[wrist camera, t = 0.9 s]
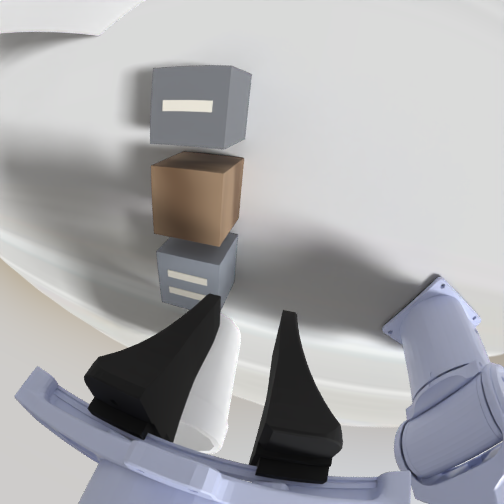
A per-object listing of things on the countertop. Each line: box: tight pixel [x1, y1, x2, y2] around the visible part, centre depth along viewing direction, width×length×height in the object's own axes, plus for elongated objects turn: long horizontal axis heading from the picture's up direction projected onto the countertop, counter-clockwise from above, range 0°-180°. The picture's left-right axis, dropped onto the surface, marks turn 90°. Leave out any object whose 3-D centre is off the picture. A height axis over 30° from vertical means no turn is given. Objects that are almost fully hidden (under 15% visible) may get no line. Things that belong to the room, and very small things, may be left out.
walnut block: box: [151, 152, 244, 247], centre depth 20 cm, size 5×5×5 cm
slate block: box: [156, 233, 238, 311], centre depth 23 cm, size 5×5×5 cm
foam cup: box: [173, 313, 241, 453], centre depth 25 cm, size 10×9×13 cm
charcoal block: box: [150, 65, 252, 149], centre depth 16 cm, size 5×5×5 cm
